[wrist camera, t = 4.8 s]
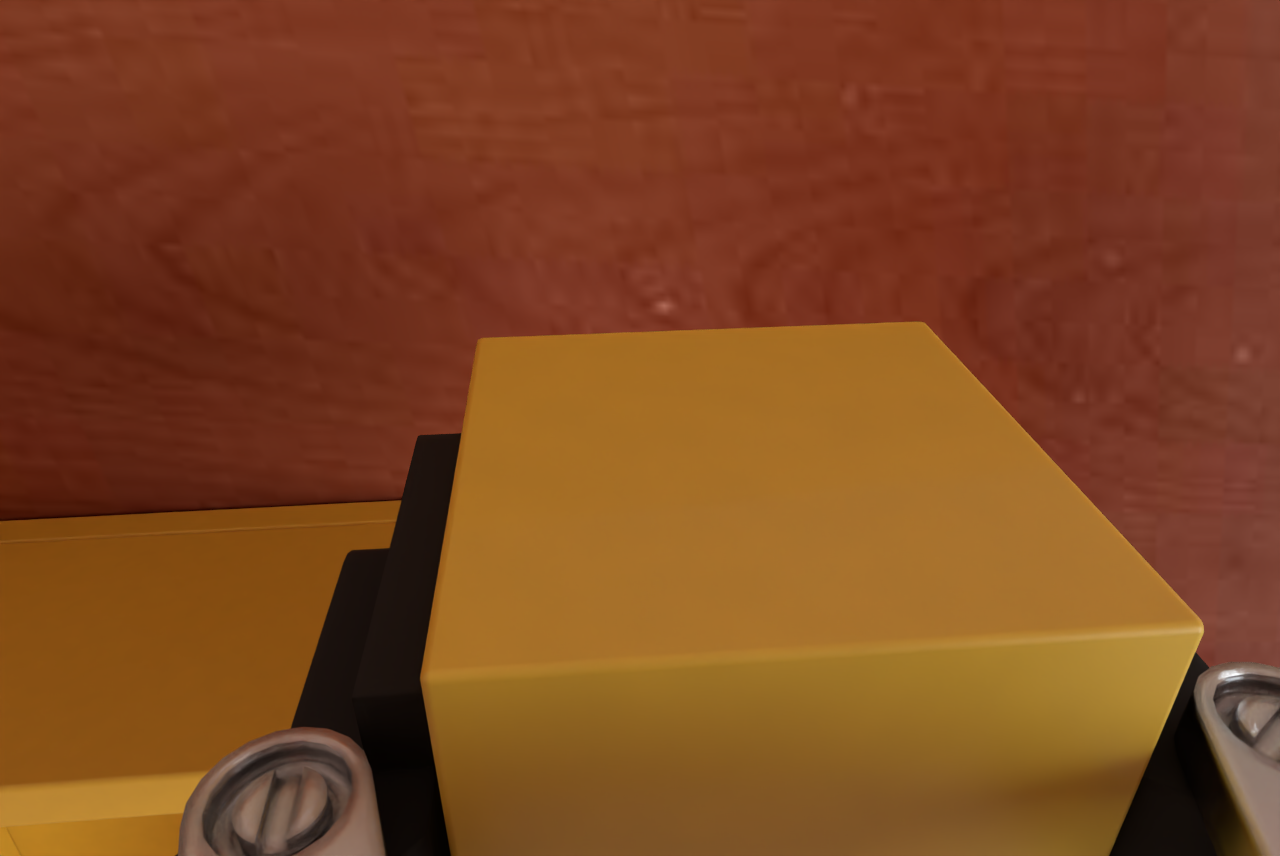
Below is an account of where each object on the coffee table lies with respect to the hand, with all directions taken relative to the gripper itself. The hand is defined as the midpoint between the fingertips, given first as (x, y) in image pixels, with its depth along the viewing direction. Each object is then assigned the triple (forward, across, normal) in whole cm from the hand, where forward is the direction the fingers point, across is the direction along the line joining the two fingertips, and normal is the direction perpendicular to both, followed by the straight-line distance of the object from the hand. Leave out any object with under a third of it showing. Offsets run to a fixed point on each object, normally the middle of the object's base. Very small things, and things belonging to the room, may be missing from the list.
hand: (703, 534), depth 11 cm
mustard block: (0, 0, 0) cm, 0 cm away
